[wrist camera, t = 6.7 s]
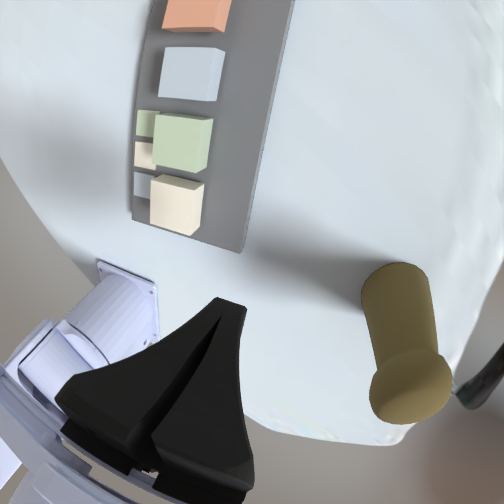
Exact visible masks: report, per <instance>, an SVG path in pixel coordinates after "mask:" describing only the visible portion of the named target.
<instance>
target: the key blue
mask: <svg viewBox="0 0 504 504" xmlns="http://www.w3.org/2000/svg"><path fill="white" fill-rule="evenodd" d="M224 57H225V52H224V51H222V50H219V49H217V48H207V47H166V48H165V53H164V59H163V65H162V71H161V78H160V84H159V92H158V97H168V98H180V99H190V100H200V101H216V100H217V95H218V89H219V83H220V78H221V72H222V67H223V62H224Z"/></svg>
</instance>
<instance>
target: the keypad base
mask: <svg viewBox="0 0 504 504" xmlns="http://www.w3.org/2000/svg"><path fill="white" fill-rule="evenodd" d="M294 3H295V0H232V1H231V5H230V9H229V14H228V18H227V22H226V27H225V31H224V33H216V32H180V33H175V32H172V31H168V30H165V29H162V25H163V21H164V16H165V12H166V8H167V4H168V0H154V3H153V7H152V11H151V15H150V19H149V24H148V29H147V33H146V38H145V44H144V49H143V55H142V61H141V67H140V74H139V81H138V89H137V98H136V107H135V118H134V131H133V148H132V180H131V202H132V220H134V221H138V222H141V223H144V224H147V225H150V226H153V227H156V228H160V229H163V230H166V231H169V232H172V233H175V234H179V235H182V236H185V237H188V238H191V239H194V240H198V241H201V242H204V243H207V244H210V245H214V246H217V247H220V248H223V249H226V250H230V251H233V252H236V253H239V254H240V253H241V251H242V249H243V248H244V243H245V238H246V233H247V228H248V223H249V218H250V213H251V208H252V203H253V198H254V193H255V188H256V183H257V178H258V173H259V168H260V163H261V158H262V153H263V148H264V143H265V139H266V134H267V129H268V124H269V119H270V114H271V110H272V105H273V100H274V95H275V91H276V86H277V81H278V76H279V72H280V67H281V62H282V58H283V53H284V48H285V44H286V39H287V34H288V30H289V25H290V21H291V16H292V12H293V7H294ZM166 47H207V48H217V49H219V50H222V51H224V52H225V57H224V62H223V67H222V72H221V78H220V83H219V89H218V95H217V100H216V101H200V100H190V99H180V98H168V97H158V92H159V84H160V78H161V71H162V65H163V59H164V53H165V48H166ZM163 113H176V114H184V115H192V116H199V117H206V118H212V119H213V125H212V132H211V138H210V145H209V152H208V160H207V167H206V168H204V169H203V170H201V171H199V172H197V173H193V172H189V171H184V170H180V169H175V168H170V167H165V166H161V165H156V164H152V151H153V138H154V127H155V117H156V114H163ZM162 174H165V175H169V176H174V177H178V178H183V179H187V180H191V181H195V182H199V183H204V192H203V200H202V209H201V219H200V227H199V228H198V229H197V230H196V231H195V232H194V233H193V234H192V235H191V236H189V235H185V234H182V233H179V232H176V231H173V230H169V229H166V228H163V227H160V226H157V225H153V224H150V192H151V180H152V179H154V178H156V177H158V176H160V175H162Z"/></svg>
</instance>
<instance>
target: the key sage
mask: <svg viewBox="0 0 504 504" xmlns="http://www.w3.org/2000/svg"><path fill="white" fill-rule="evenodd" d="M212 125H213V119H212V118H206V117H199V116H192V115H184V114H176V113H163V114H156V117H155V127H154V138H153V151H152V164H156V165H161V166H165V167H170V168H175V169H180V170H184V171H189V172H193V173H197V172H199V171H201V170H203V169H204V168H206V167H207V160H208V152H209V145H210V138H211V132H212Z"/></svg>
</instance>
